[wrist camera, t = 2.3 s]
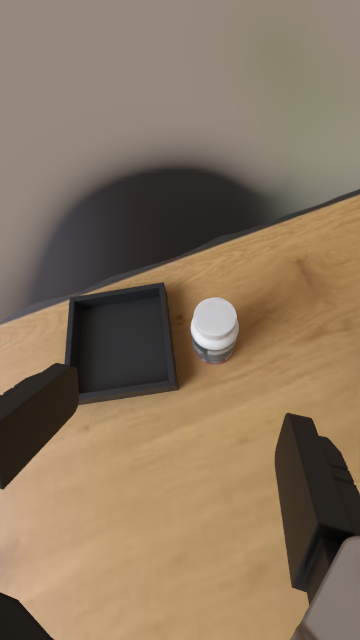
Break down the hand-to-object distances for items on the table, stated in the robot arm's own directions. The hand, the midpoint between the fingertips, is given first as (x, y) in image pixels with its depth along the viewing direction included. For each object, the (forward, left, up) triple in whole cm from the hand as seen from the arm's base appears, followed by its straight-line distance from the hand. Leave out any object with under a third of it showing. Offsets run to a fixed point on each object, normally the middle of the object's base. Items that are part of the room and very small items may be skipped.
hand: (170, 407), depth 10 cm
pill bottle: (-4, -11, -25) cm, 27 cm away
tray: (+9, -13, -25) cm, 29 cm away
